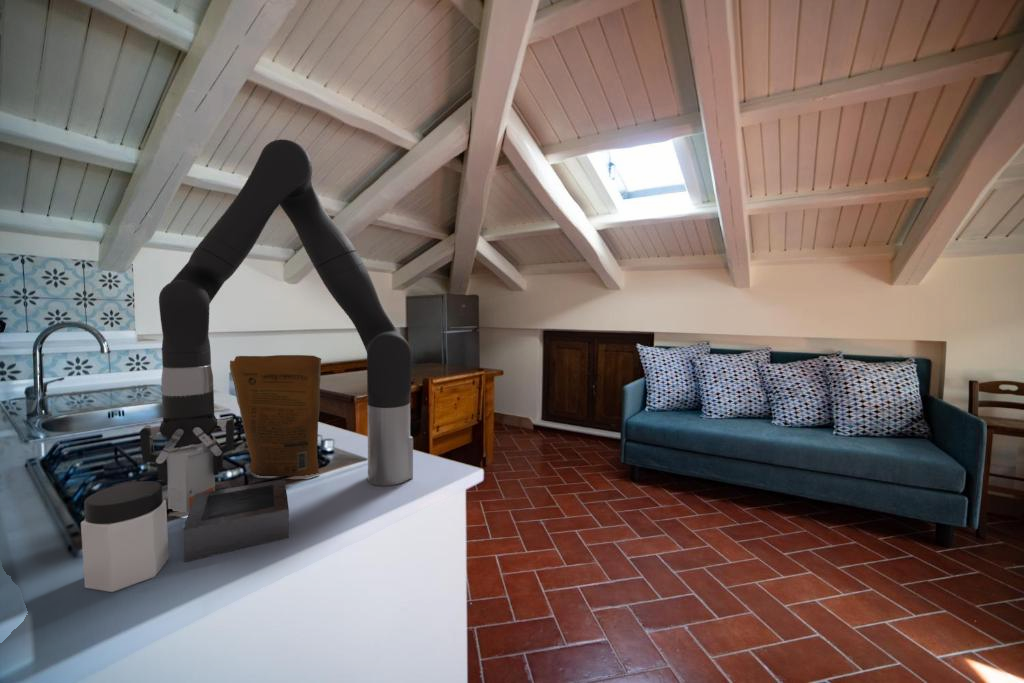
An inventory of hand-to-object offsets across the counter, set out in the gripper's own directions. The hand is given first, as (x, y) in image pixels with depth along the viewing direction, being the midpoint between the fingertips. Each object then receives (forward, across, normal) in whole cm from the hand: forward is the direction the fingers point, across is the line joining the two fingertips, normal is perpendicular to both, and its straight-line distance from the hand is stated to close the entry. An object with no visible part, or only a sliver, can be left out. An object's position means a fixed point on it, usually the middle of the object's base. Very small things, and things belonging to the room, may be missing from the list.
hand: (191, 477), depth 78 cm
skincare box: (+7, 0, 0) cm, 7 cm away
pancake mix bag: (+7, -15, -10) cm, 19 cm away
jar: (+7, +5, +18) cm, 20 cm away
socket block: (+6, -8, +12) cm, 16 cm away
